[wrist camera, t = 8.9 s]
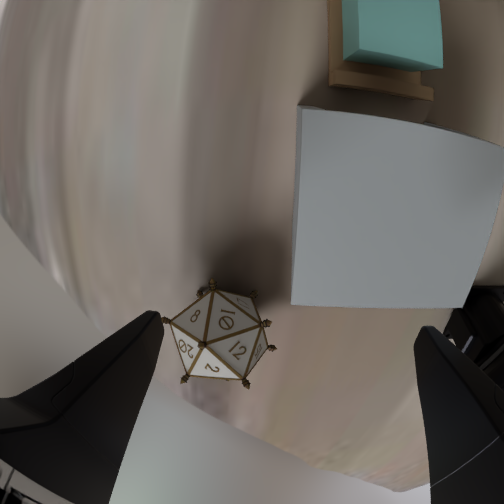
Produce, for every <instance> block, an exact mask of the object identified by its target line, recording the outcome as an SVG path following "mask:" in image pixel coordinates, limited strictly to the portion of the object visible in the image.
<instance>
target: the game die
mask: <svg viewBox="0 0 504 504" xmlns="http://www.w3.org/2000/svg"><path fill="white" fill-rule="evenodd" d="M216 283H217V282H215V281H214V279H213V278H211V280H210V282H209V285H210V288H211V290H209V291H208V292H207V293H206V294H204V295H203V293H202V291H199V290H198V292H197V296H198V297H199V299H198V300H196V301H195V302H194V303H192V304H191V305H190V306H188V307H187V308H186V309H184V310H183V311H182V312H180V313H179V314H178V315H176V316H175V317H174V318H173V319H171V320H170V319H168V317H167V318H166V317H165V316H164V317H162V318H161V319H162V322H163V323H165V324H170V327H171V330H172V333H173V336H174V339H175V342H176V345H177V348H178V351H179V354H180V357H181V360H182V363H183V366H184V369H185V371H186V375H184V376H183V377H182V378H181V383H180V384H182V383H185V382H186V383H187V380H188V378H189V377H200V378H212V379H225V380H227V381H229V380H242V384H243V385H244V387H246V388H247V389H249V388H250V384H251V383H249V380H247V379H246V377H247V376H248V374H249V373H250V372H251V370H252V369H253V368H254V366H255V365H256V363H257V362H258V361H259V359H260V358H261V357H262V355H263V354H264V353H265V351H266V350H267V349H269V351H270V350H271V351H272V352H273V351H274V350H276V349H277V348H276V347H275V345H268V342H267V338H266V335H265V331H264V327H270V324H271V323H272V322H271V321H269V320H268V319H266V320H264V321H263V322H262V321H261V318H260V316H259V313H258V311H257V308H256V306H255V303H254V301H253V298H256V296H258V295H257V292H258V290H256V291H252V293H251V295H250V297H248V296H244V295H239V294H235V293H231V292H227V291H223V290H219V289H216V286H217V285H216Z"/></svg>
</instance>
